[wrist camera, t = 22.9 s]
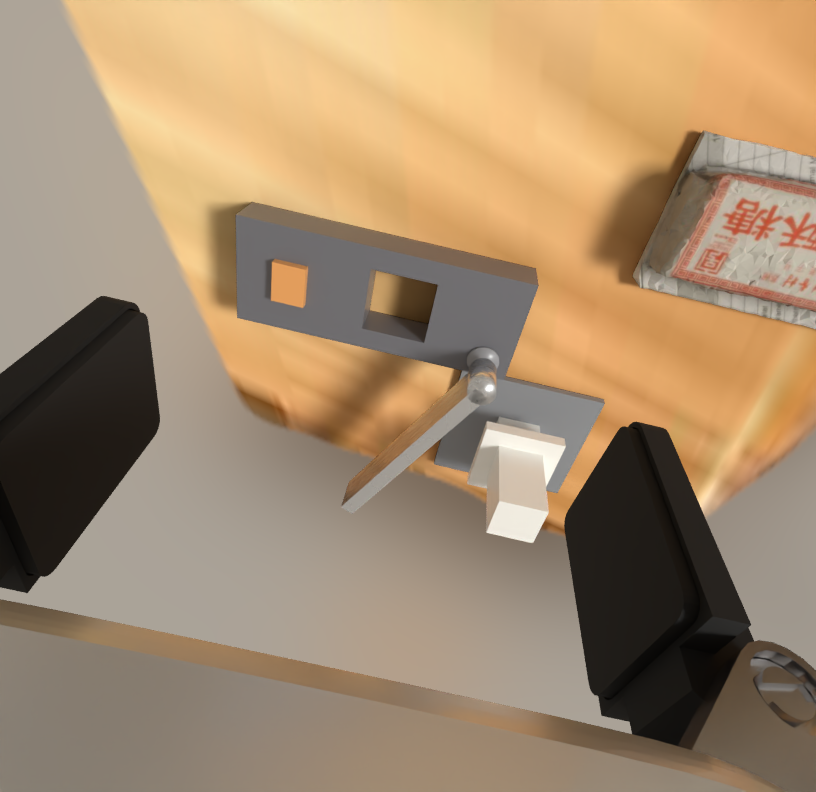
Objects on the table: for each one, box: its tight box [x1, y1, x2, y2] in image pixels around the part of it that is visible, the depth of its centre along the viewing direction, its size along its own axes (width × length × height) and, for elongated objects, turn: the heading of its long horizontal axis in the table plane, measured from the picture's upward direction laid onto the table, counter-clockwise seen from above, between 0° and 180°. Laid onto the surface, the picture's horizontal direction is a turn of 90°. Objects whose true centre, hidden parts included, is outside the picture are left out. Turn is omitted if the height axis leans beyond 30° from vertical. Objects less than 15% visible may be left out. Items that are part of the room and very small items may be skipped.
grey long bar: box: [341, 358, 496, 514], centre depth 41 cm, size 18×2×3 cm, turn 142°
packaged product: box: [633, 131, 816, 329], centre depth 33 cm, size 18×5×10 cm
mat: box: [434, 371, 605, 493], centre depth 46 cm, size 12×11×1 cm
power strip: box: [236, 202, 539, 380], centre depth 38 cm, size 21×8×4 cm, turn 79°
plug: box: [467, 417, 566, 543], centre depth 42 cm, size 6×6×10 cm
